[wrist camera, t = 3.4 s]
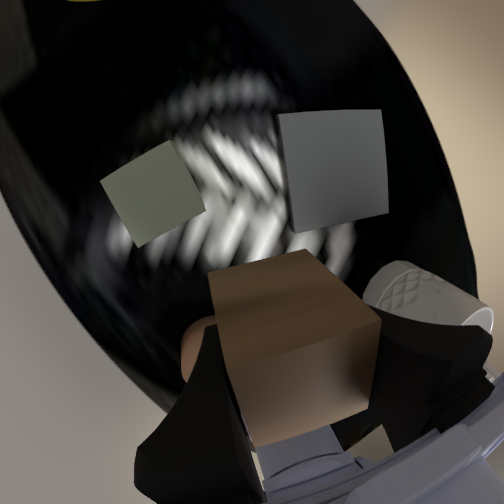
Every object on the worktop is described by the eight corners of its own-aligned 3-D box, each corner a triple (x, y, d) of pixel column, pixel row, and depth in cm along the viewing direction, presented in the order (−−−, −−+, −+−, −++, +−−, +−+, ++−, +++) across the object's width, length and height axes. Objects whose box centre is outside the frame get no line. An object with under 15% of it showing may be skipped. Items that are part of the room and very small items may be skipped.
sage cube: (202, 197, 18) (205, 210, 14) (147, 226, 18) (138, 247, 14) (173, 141, 16) (169, 139, 12) (118, 173, 16) (99, 180, 12)
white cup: (402, 235, 22) (490, 285, 13) (428, 286, 25) (495, 336, 16) (339, 300, 23) (410, 379, 14) (376, 340, 26) (433, 406, 17)
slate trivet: (384, 211, 21) (388, 212, 20) (292, 231, 20) (295, 233, 19) (376, 110, 18) (380, 109, 17) (276, 115, 17) (278, 114, 16)
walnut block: (311, 326, 15) (367, 408, 9) (228, 350, 14) (254, 447, 8) (305, 248, 13) (381, 318, 7) (207, 272, 12) (226, 368, 7)
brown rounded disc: (260, 361, 24) (268, 385, 21) (193, 376, 23) (195, 402, 20) (247, 305, 21) (256, 328, 19) (170, 323, 20) (169, 348, 18)
